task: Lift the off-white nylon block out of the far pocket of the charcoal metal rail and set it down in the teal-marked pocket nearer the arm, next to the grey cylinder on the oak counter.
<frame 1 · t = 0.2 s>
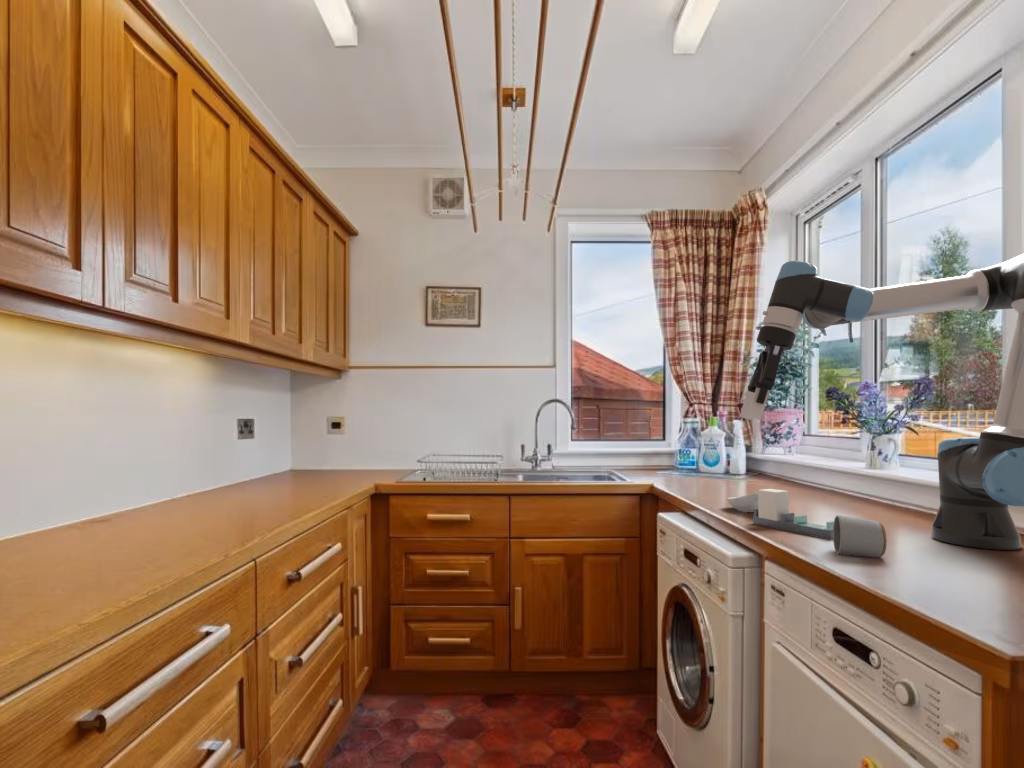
hand: (749, 418, 121), 27 cm above the table, tool tilted 20°, fingers open, 13 cm apart
grey cylinder: (855, 554, 108), on the table
nylon block: (773, 518, 135), point 2 cm above the table, touching rail
rail: (794, 530, 130), on the table
spoon rest: (758, 516, 151), on the table
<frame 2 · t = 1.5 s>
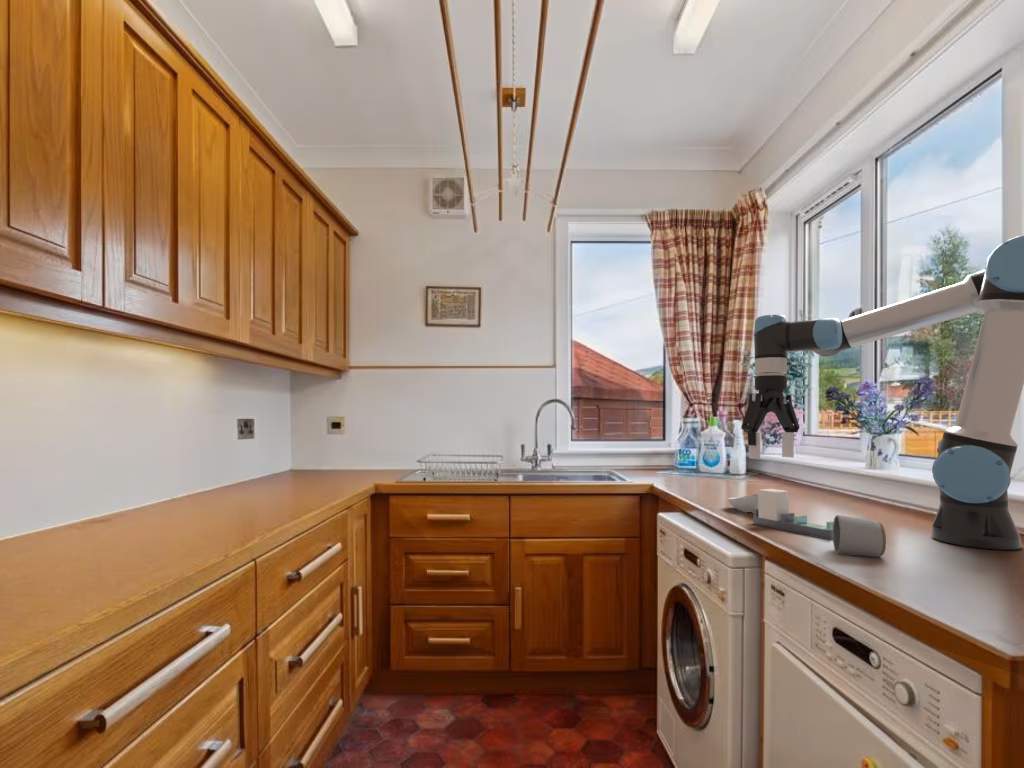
hand: (771, 458, 136), 17 cm above the table, tool pointing down, fingers open, 13 cm apart
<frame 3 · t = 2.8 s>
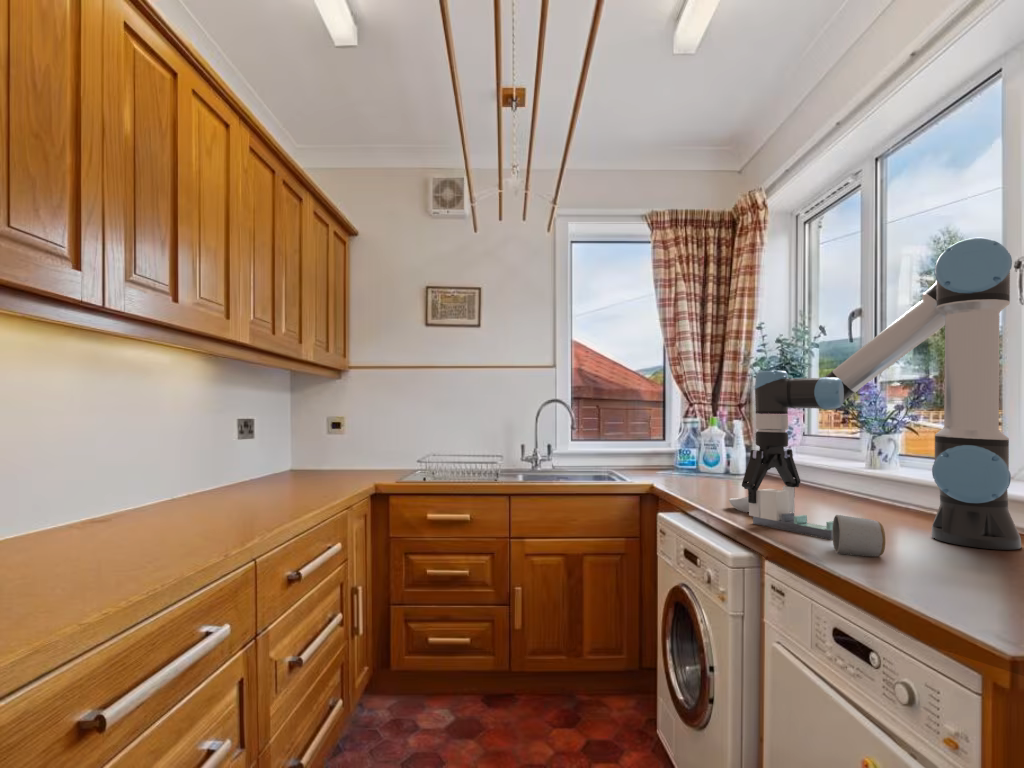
hand: (772, 514, 135), 3 cm above the table, tool pointing down, fingers open, 13 cm apart
spoon rest: (761, 516, 151), on the table, touching gripper
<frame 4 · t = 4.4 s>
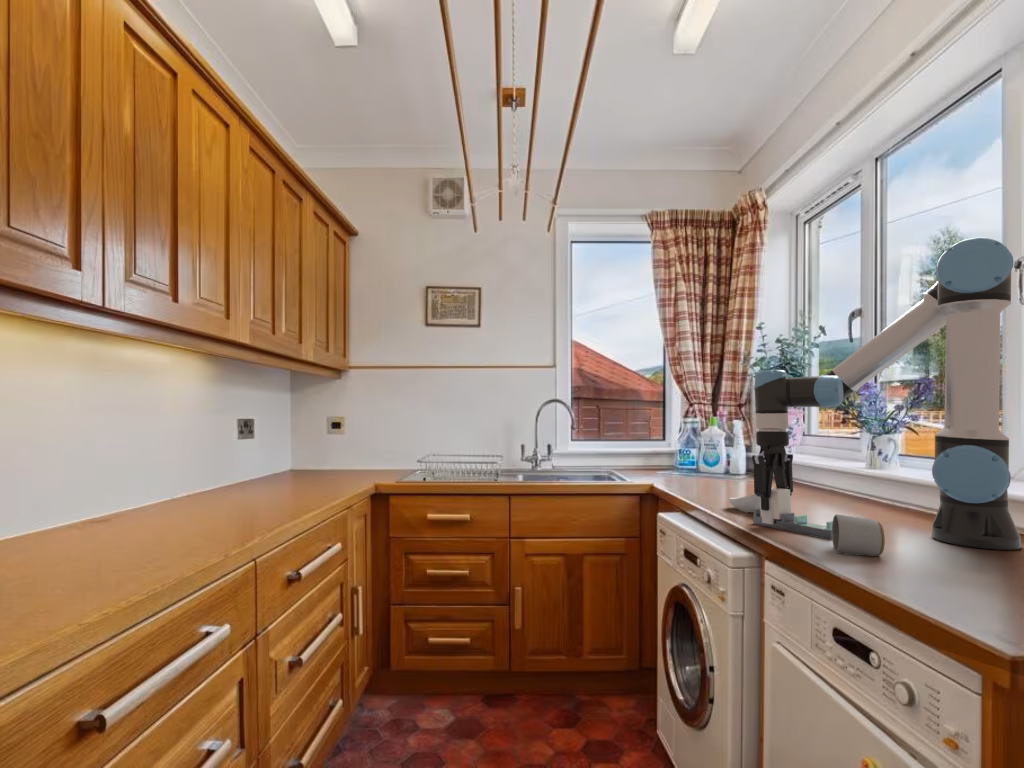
hand: (774, 522, 134), 1 cm above the table, tool pointing down, fingers closed on nylon block, 5 cm apart
nylon block: (775, 517, 134), point 2 cm above the table, touching gripper
spoon rest: (761, 516, 151), on the table
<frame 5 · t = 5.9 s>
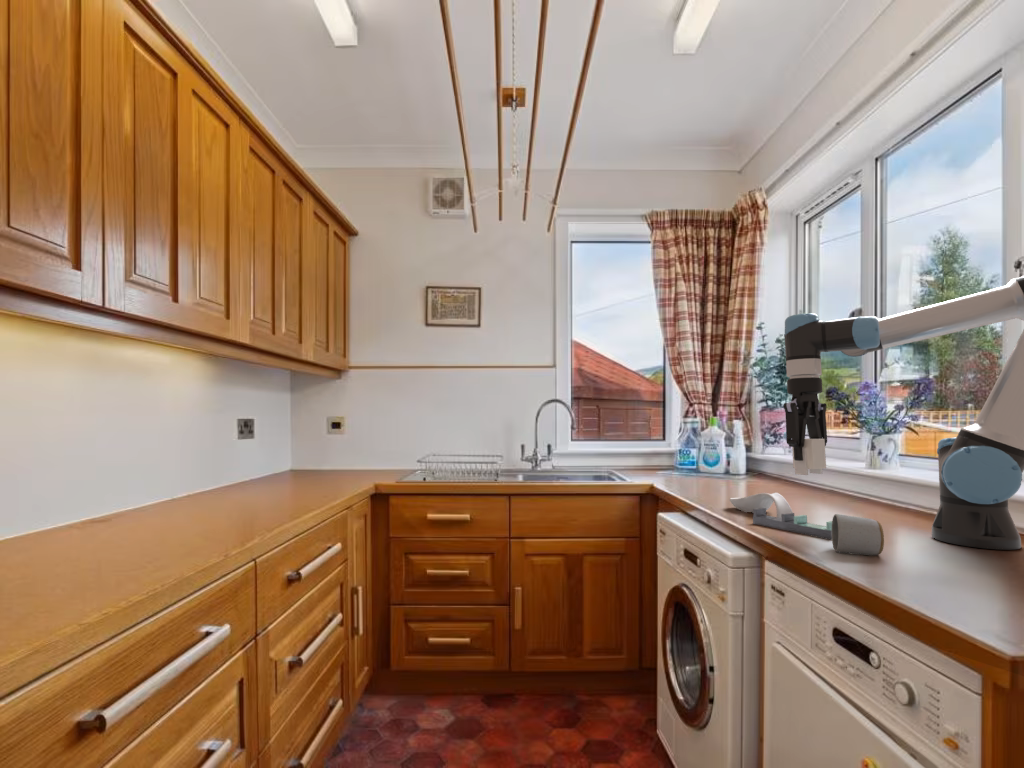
hand: (808, 473, 128), 14 cm above the table, tool pointing down, fingers closed on nylon block, 5 cm apart
nylon block: (809, 468, 127), point 16 cm above the table, touching gripper
when the fingers open (2 cm above the table, at t = 7.9 s): nylon block drops 1 cm, resting on rail.
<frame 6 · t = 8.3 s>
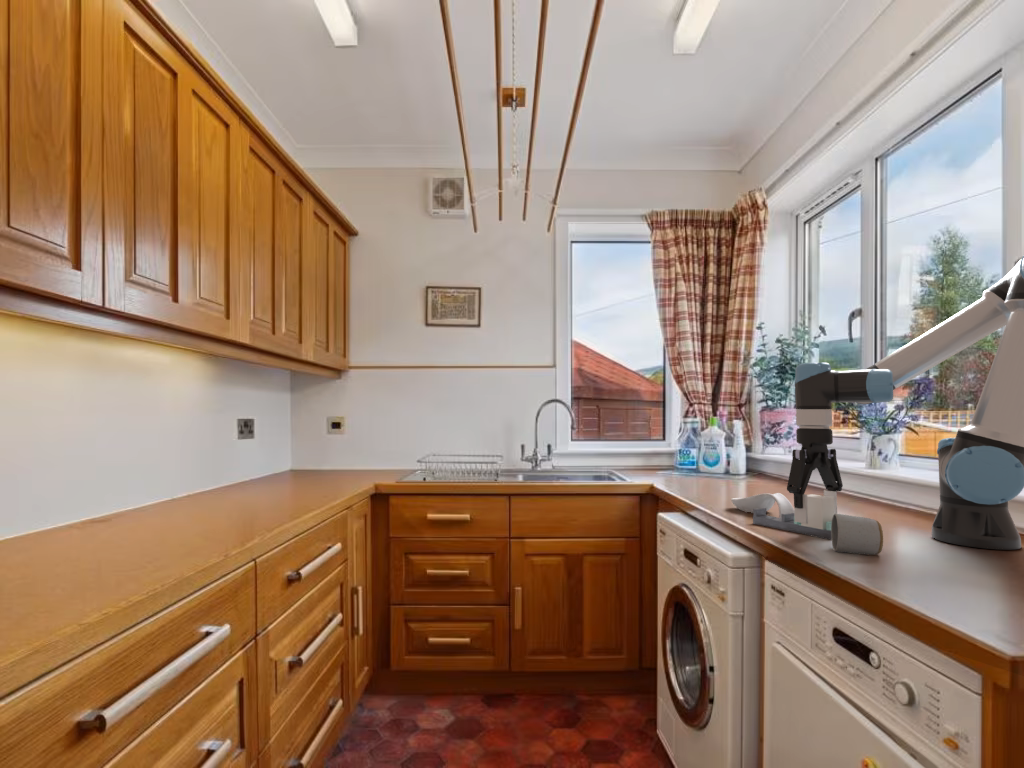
hand: (816, 520, 125), 3 cm above the table, tool pointing down, fingers open, 11 cm apart
nylon block: (817, 526, 125), point 2 cm above the table, touching rail
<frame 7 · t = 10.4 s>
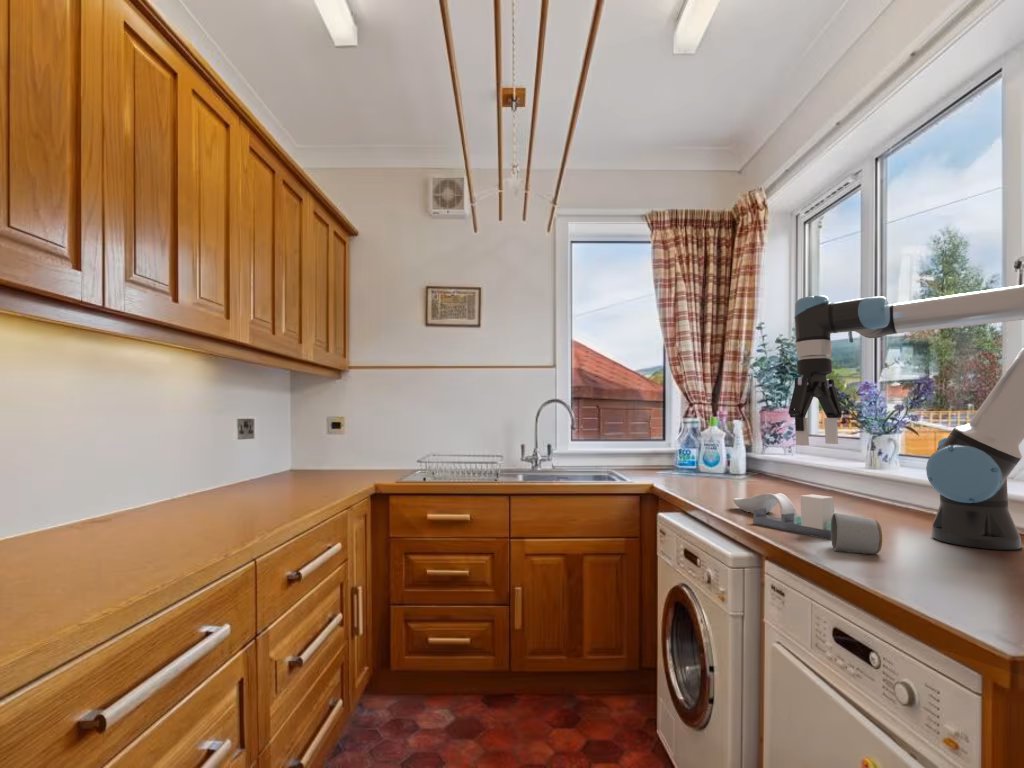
hand: (817, 444, 131), 21 cm above the table, tool pointing down, fingers open, 13 cm apart
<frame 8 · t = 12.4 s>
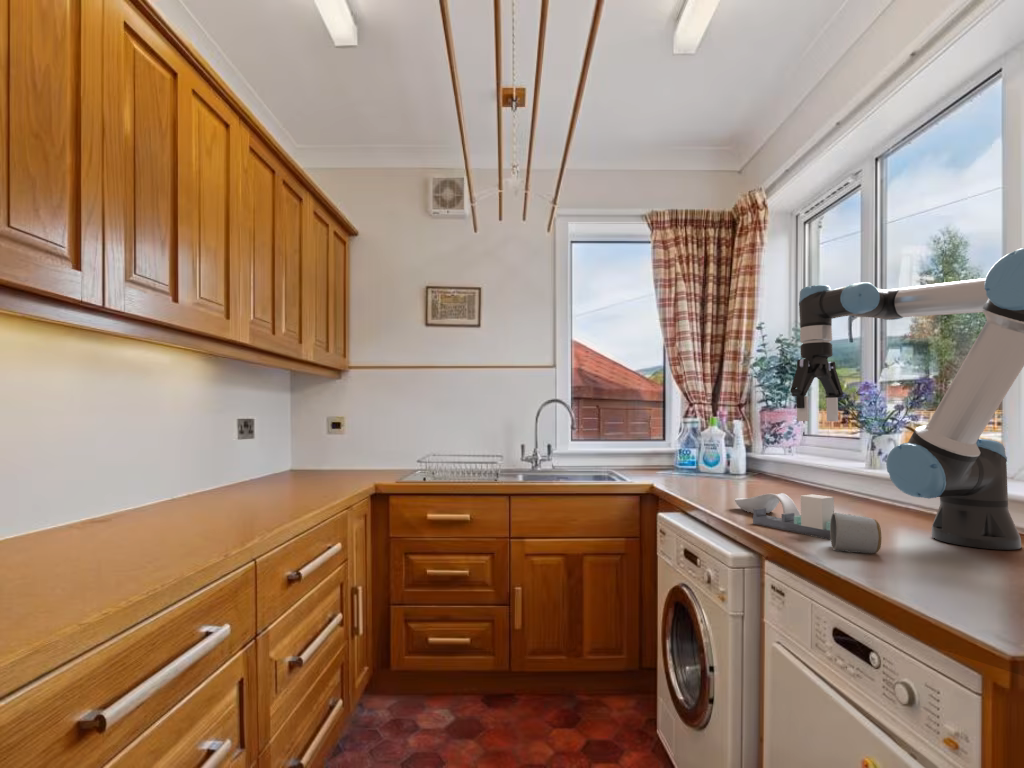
hand: (818, 421, 143), 27 cm above the table, tool pointing down, fingers open, 13 cm apart
at the end: nylon block 0.3 cm from the target spot, point 2.0 cm above the table; nylon block tilted 0°; the gripper is holding nothing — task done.
